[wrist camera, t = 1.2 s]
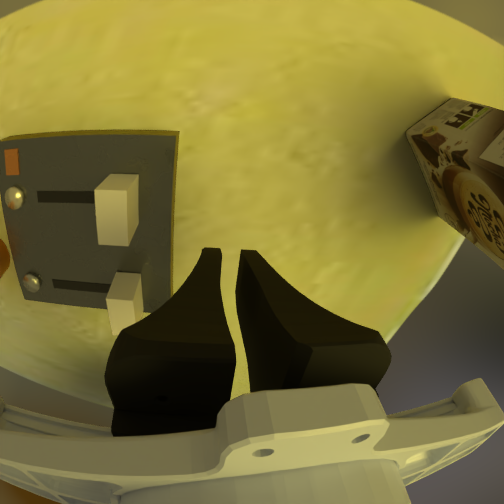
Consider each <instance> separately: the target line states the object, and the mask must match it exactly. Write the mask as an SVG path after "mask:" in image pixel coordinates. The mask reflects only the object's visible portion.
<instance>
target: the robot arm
mask: <svg viewBox="0 0 504 504" xmlns="http://www.w3.org/2000/svg"><path fill="white" fill-rule="evenodd" d="M221 263H222V253H221V249H220V248H206V247H205V248H204V249H202V253H201V256H200V258H199V260H198V262H197V264H196V266H195V267H194V269H193V271H192V272H191V274H190V275H189V277H188V278H187V279H186V281H185V282H184V283H183V285H182V286H181V287H180V288H179V289H178V291H177V292H176V293H175V294H174V295H173V296H172V297H171V298H170V299H169V300H168V301H166V302H165V303H164V304H163V305H162V306H161V307H160V308H158V309H157V310H156V311H154V312H153V313H151V314H150V315H148V316H147V317H145V318H144V319H142V320H140V321H138V322H136V323H134V324H132V325H130V326H128V327H126V328H124V329H122V330H121V332H120V333H119V335H118V337H117V339H116V341H115V343H114V345H113V348H112V350H111V352H110V355H109V358H108V362H107V366H106V371H105V375H104V377H105V384H106V387H107V390H108V393H109V395H110V398H111V401H112V404H113V406H114V414H113V420H112V426H111V428H109V427H103V426H96V425H90V424H85V423H80V422H74V421H70V420H64V419H60V418H56V417H52V416H48V415H43V414H40V413H36V412H32V411H28V410H25V409H21V408H18V407H15V406H12V405H8V404H5V402H4V400H3V399H2V397H1V395H0V479H1V480H4V481H6V482H8V483H11V484H13V485H15V486H17V487H20V488H22V489H25V490H27V491H30V492H32V493H35V494H37V495H40V496H43V497H45V498H48V499H51V500H54V501H57V502H60V503H62V504H411V502H410V499H409V496H408V494H407V491H406V489H405V486H406V485H408V484H411V483H413V482H415V481H417V480H419V479H422V478H424V477H425V476H428V475H430V474H432V473H434V472H436V471H438V470H440V469H441V468H443V467H445V466H447V465H449V464H451V463H453V462H455V461H457V460H458V459H460V458H462V457H464V456H466V455H468V454H470V453H471V452H473V451H474V450H475V449H476V448H477V447H478V446H480V445H481V444H482V443H483V442H484V441H485V440H486V439H488V438H489V437H490V436H491V435H492V434H493V433H494V432H495V431H496V430H497V429H499V428H500V427H501V426H502V425H503V424H504V413H503V412H502V410H501V408H500V407H499V405H498V403H497V402H496V400H495V399H494V397H493V396H492V394H491V393H490V391H489V390H488V388H487V386H486V385H485V383H484V382H483V380H482V379H481V378H478V379H475V380H472V381H469V382H466V383H464V384H463V385H461V386H460V387H459V388H458V389H457V390H456V391H455V393H454V394H453V396H452V397H450V398H447V399H445V400H441V401H438V402H435V403H431V404H428V405H425V406H421V407H418V408H415V409H411V410H407V411H403V412H399V413H395V414H391V415H387V416H386V414H385V412H384V409H383V407H382V405H381V403H380V401H379V398H378V397H379V396H378V393H377V391H376V389H375V388H376V387H377V385H378V384H379V382H380V381H381V379H382V378H383V376H384V375H385V373H386V371H387V369H388V367H389V365H390V363H391V353H390V350H389V348H388V347H387V345H386V343H385V341H384V340H383V338H382V336H381V335H380V333H379V332H378V331H376V330H373V329H370V328H367V327H364V326H361V325H358V324H356V323H353V322H351V321H348V320H346V319H344V318H342V317H340V316H338V315H336V314H333V313H332V312H330V311H328V310H326V309H324V308H323V307H321V306H319V305H318V304H316V303H314V302H313V301H311V300H310V299H308V298H307V297H306V296H304V295H303V294H301V293H300V292H299V291H297V290H296V289H295V288H294V287H293V286H291V285H290V284H289V283H288V282H287V281H286V280H285V279H283V278H282V277H281V276H280V275H279V274H278V273H277V272H276V271H275V270H274V269H273V268H272V267H271V266H270V265H269V264H268V262H267V261H266V260H265V259H264V258H263V257H262V256H261V255H260V254H259V253H258V252H257V251H256V250H241V254H240V261H239V268H238V275H237V282H236V290H235V294H236V308H237V315H238V320H239V325H240V329H241V334H242V338H243V343H244V347H245V352H246V357H247V363H248V372H249V382H250V393H246V394H242V395H240V396H238V397H236V398H234V399H232V400H230V397H231V391H232V385H233V379H234V373H235V367H236V353H235V345H234V342H233V340H232V337H231V334H230V331H229V328H228V325H227V321H226V317H225V312H224V307H223V302H222V296H221V289H220V277H221Z"/></svg>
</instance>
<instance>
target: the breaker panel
mask: <svg viewBox="0 0 504 504" xmlns="http://www.w3.org/2000/svg"><path fill="white" fill-rule="evenodd" d="M178 142H179V131H162V130H82V131H62V132H47V133H35V134H25V135H15V136H9V137H7V138H4V139H2V140H0V194H1V201H2V207H3V213H4V219H5V224H6V230H7V234H8V239H9V244H10V248H11V252H12V256H13V260H14V264H15V268H16V272H17V275H18V279H19V282H20V286H21V289H22V292H23V295H24V299H26V300H33V301H40V302H48V303H56V304H64V305H72V306H81V307H90V308H100V309H108V308H107V302H106V297H107V294H108V292H109V289H110V287H111V284H112V281H113V279H114V276H115V274H116V272H124V273H138V274H141V284H142V297H143V312H148V313H153V312H154V311H156V310H157V309H158V308H160V307H161V306H162V305H163V304H164V303H165V302H166V301H168V300H169V299H170V298H171V297H172V296H173V233H174V205H175V185H176V169H177V155H178ZM110 174H139V187H138V211H139V224H138V226H137V228H136V230H135V233H134V235H133V237H132V239H131V242H130V244H129V246H114V245H98V235H97V223H96V210H95V192H94V190H95V189H96V188H97V187H98V186H99V185H100V184H101V183H102V182H103V181H104V180H105V179H106V178H107V177H108V176H109V175H110Z"/></svg>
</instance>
